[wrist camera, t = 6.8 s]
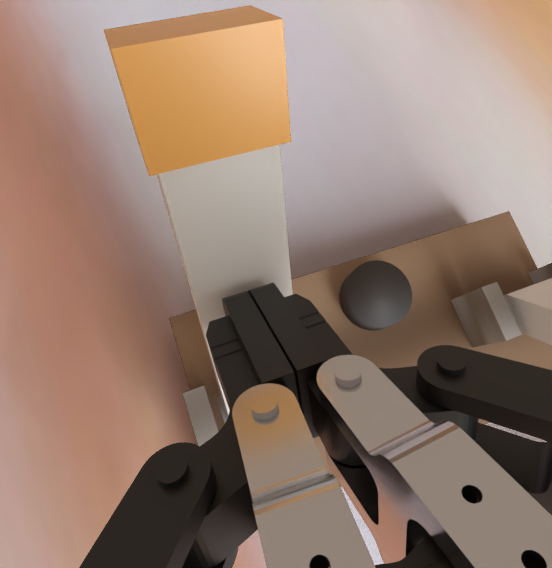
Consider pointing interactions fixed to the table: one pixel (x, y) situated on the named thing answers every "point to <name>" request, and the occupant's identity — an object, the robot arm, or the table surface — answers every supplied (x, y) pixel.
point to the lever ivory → (533, 310)
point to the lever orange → (214, 144)
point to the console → (401, 308)
